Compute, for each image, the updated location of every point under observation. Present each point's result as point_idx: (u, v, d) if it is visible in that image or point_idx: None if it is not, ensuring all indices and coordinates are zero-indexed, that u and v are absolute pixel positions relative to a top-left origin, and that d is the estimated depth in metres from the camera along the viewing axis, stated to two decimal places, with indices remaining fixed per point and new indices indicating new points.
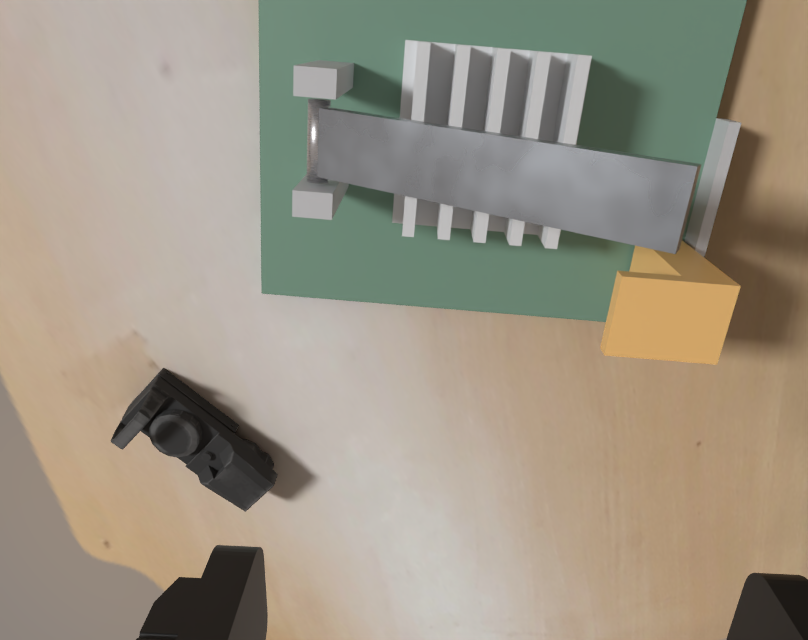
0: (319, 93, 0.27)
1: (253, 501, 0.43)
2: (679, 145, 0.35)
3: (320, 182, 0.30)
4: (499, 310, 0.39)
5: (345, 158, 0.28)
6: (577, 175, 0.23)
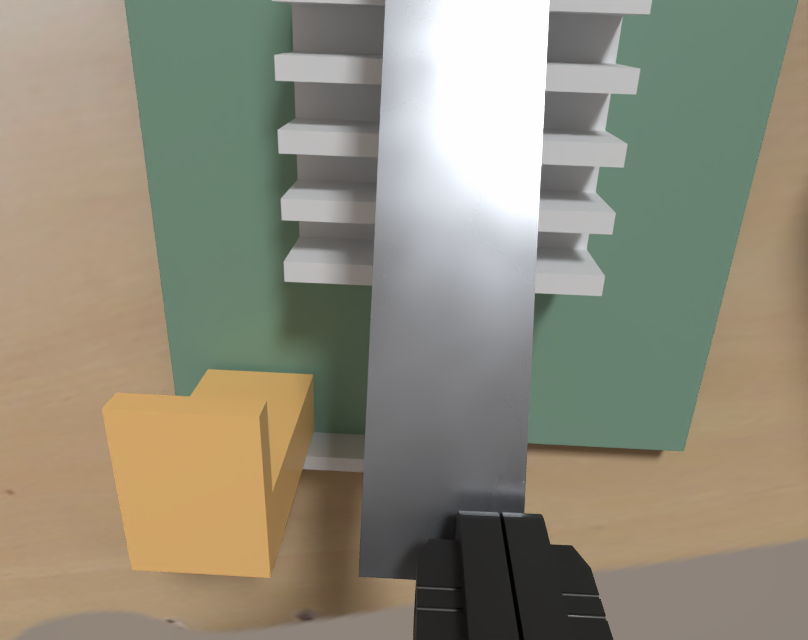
0: None
1: None
2: None
3: None
4: (152, 181, 0.22)
5: None
6: (479, 374, 0.12)
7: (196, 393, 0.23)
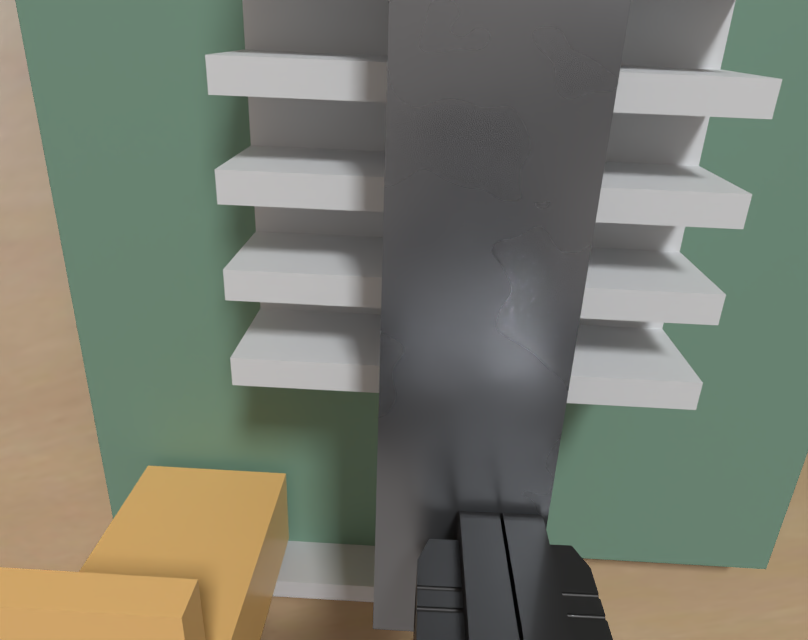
0: None
1: None
2: None
3: None
4: (64, 225, 0.16)
5: None
6: (499, 470, 0.11)
7: (127, 507, 0.17)
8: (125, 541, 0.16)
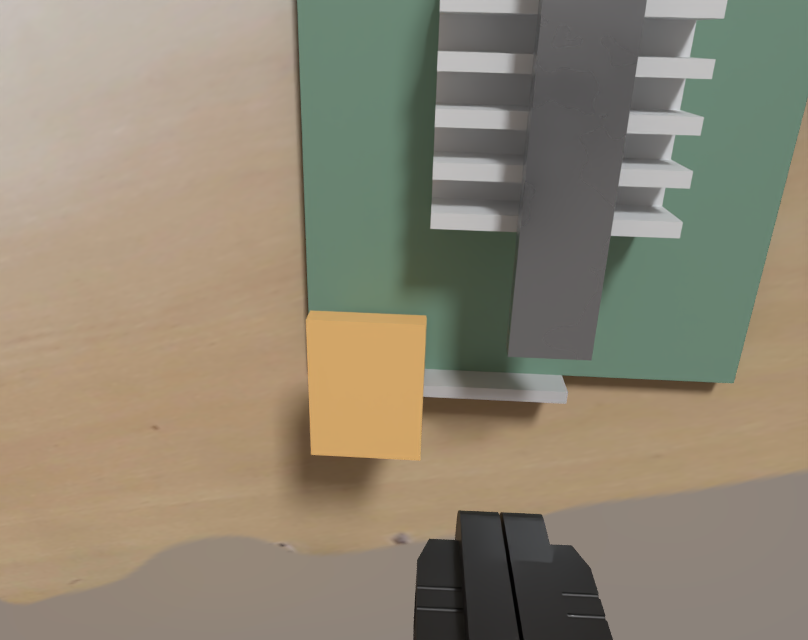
0: None
1: None
2: None
3: None
4: (306, 156, 0.27)
5: None
6: (579, 256, 0.22)
7: None
8: None
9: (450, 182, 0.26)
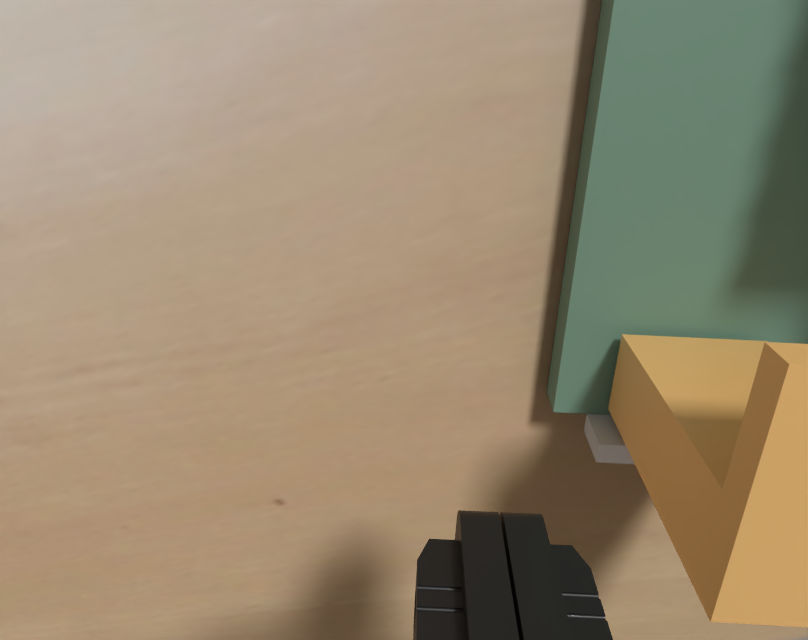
0: None
1: None
2: None
3: None
4: (611, 62, 0.16)
5: None
6: None
7: (647, 363, 0.17)
8: (683, 388, 0.15)
9: None
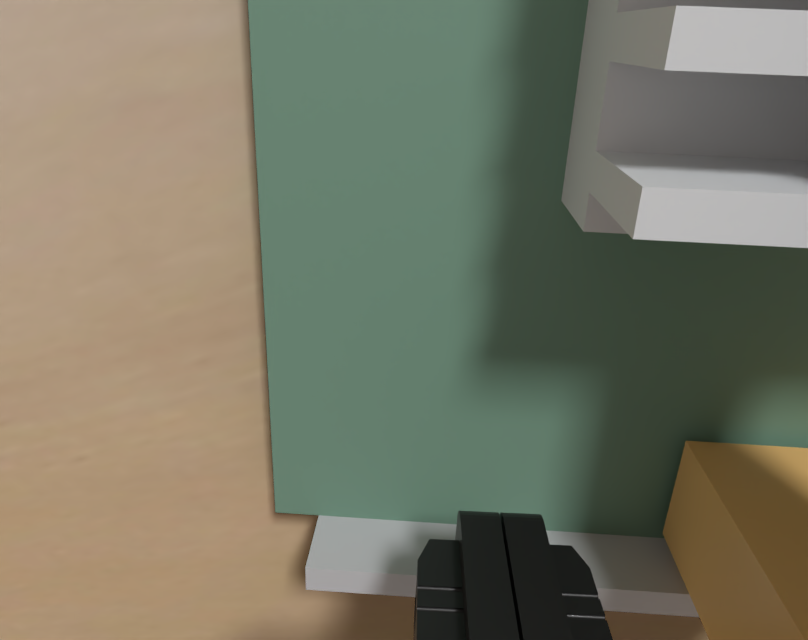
0: None
1: None
2: None
3: None
4: (260, 50, 0.11)
5: None
6: None
7: (729, 498, 0.12)
8: (790, 548, 0.10)
9: (653, 107, 0.09)
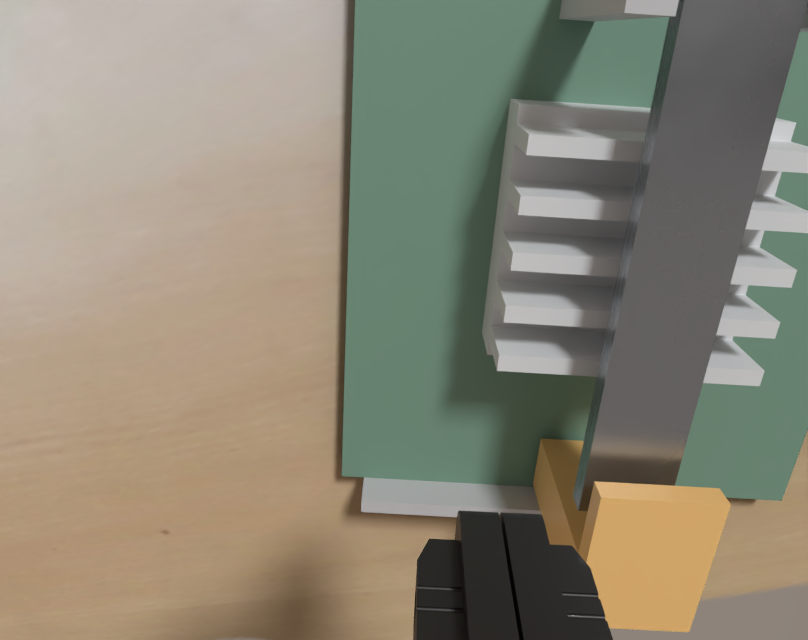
0: None
1: None
2: None
3: None
4: (351, 270, 0.25)
5: (714, 62, 0.16)
6: (663, 415, 0.20)
7: (552, 463, 0.26)
8: (571, 482, 0.25)
9: None
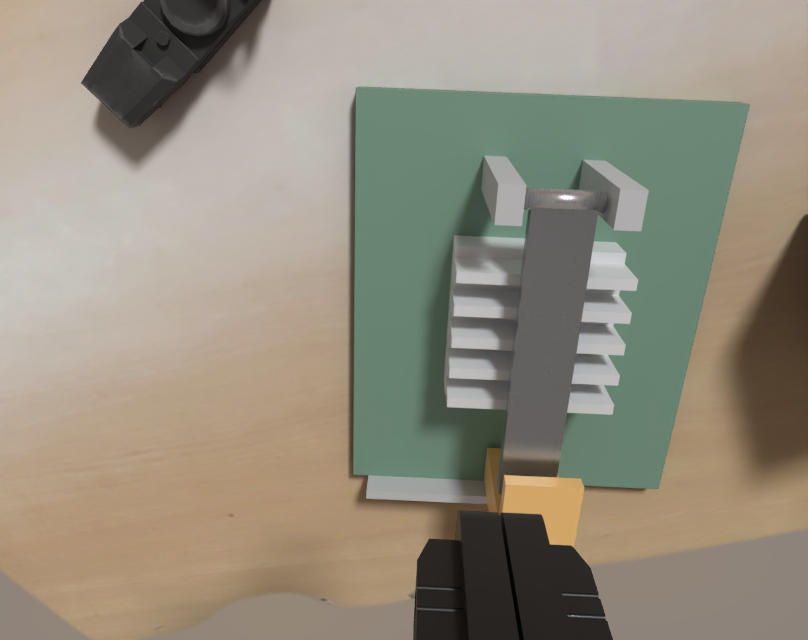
0: (620, 214, 0.28)
1: (102, 99, 0.32)
2: None
3: (525, 209, 0.29)
4: (356, 340, 0.39)
5: (551, 241, 0.30)
6: (545, 434, 0.34)
7: (492, 464, 0.40)
8: None
9: None
